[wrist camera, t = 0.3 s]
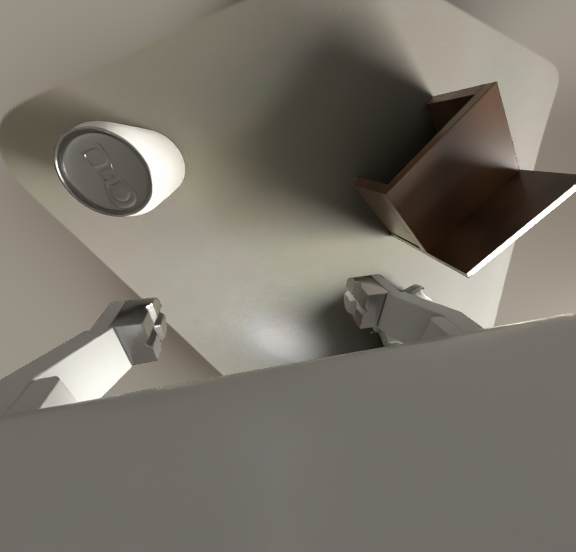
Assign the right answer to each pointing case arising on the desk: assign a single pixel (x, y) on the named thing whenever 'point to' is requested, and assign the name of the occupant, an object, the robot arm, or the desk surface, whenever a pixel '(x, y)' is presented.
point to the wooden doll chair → (465, 185)
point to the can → (118, 167)
